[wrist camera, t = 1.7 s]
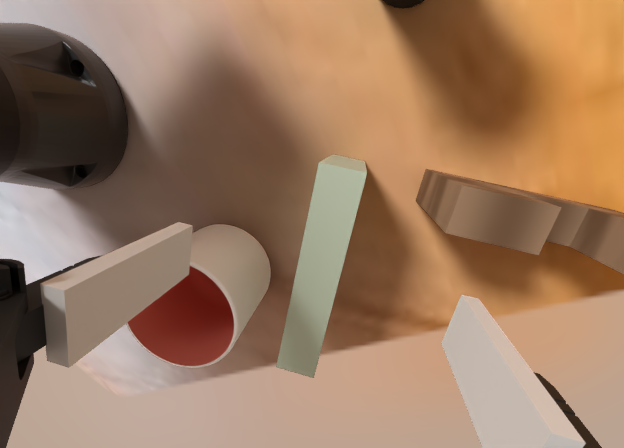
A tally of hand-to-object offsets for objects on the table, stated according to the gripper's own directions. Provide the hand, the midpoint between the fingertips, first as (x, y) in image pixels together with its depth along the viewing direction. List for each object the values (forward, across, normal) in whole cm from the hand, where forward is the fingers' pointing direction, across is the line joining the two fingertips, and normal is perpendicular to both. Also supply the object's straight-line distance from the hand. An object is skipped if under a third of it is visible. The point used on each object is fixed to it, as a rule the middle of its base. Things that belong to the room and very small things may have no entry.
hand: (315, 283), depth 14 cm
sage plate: (+16, 0, -3) cm, 16 cm away
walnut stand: (+16, +15, +4) cm, 22 cm away
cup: (+16, -10, -9) cm, 21 cm away
